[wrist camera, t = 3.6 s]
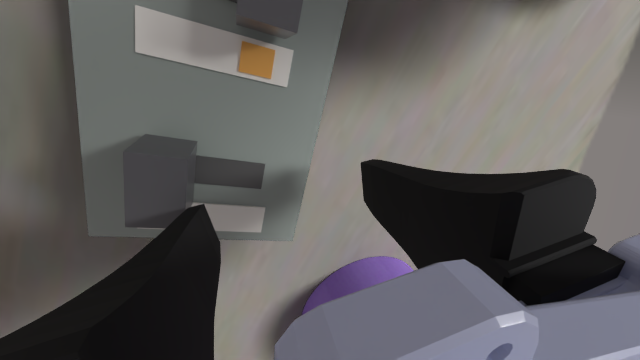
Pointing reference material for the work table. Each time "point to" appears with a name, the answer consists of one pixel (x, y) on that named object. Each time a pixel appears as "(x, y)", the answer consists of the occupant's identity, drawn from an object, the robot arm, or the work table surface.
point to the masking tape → (356, 279)
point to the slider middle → (270, 16)
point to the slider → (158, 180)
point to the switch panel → (202, 106)
